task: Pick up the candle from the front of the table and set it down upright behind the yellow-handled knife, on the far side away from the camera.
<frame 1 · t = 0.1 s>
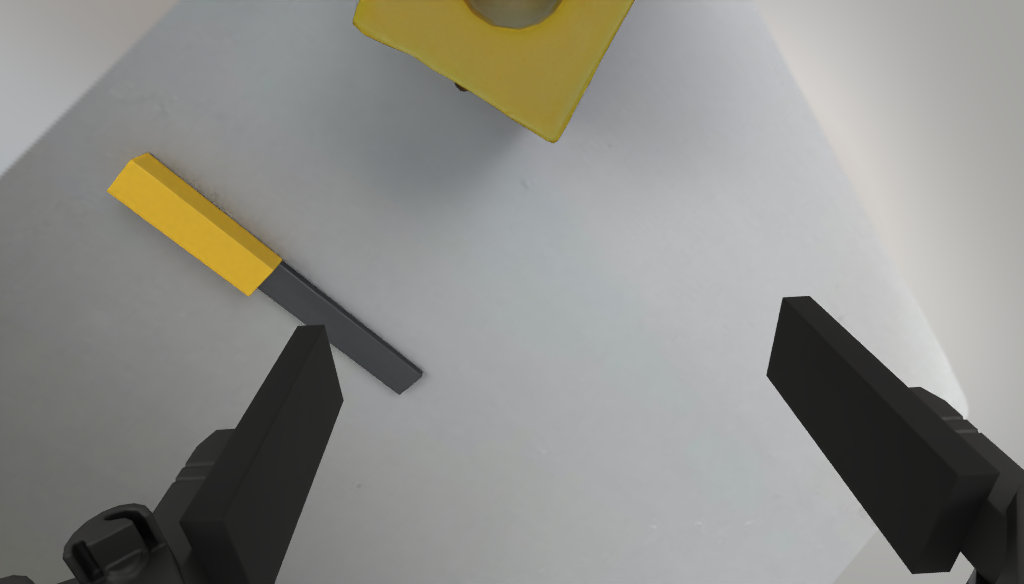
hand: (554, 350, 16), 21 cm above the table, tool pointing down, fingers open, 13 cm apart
knife: (294, 290, 38), on the table
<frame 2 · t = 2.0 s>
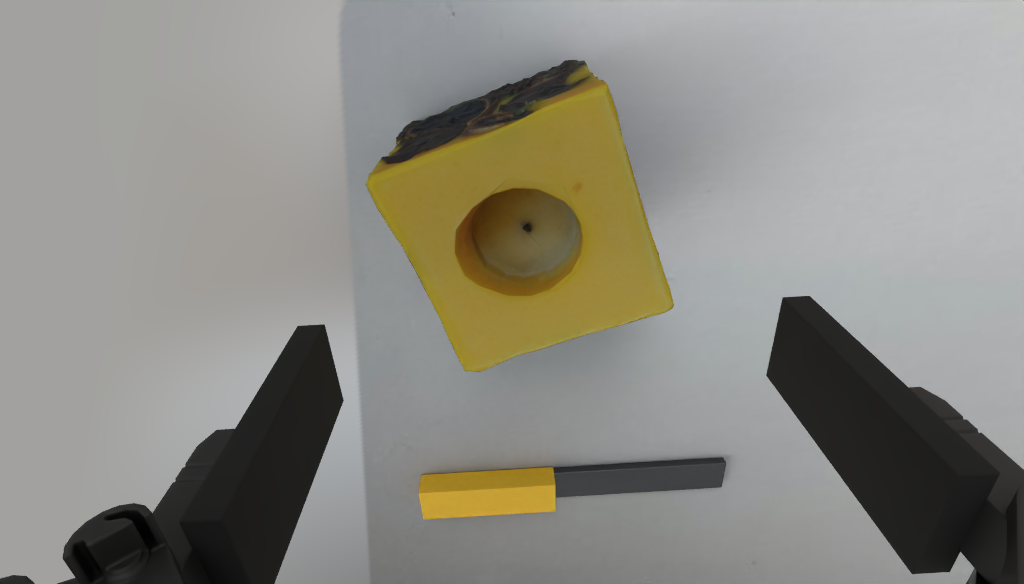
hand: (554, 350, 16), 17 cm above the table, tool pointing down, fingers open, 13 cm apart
candle: (521, 177, 31), on the table
knife: (579, 478, 42), on the table
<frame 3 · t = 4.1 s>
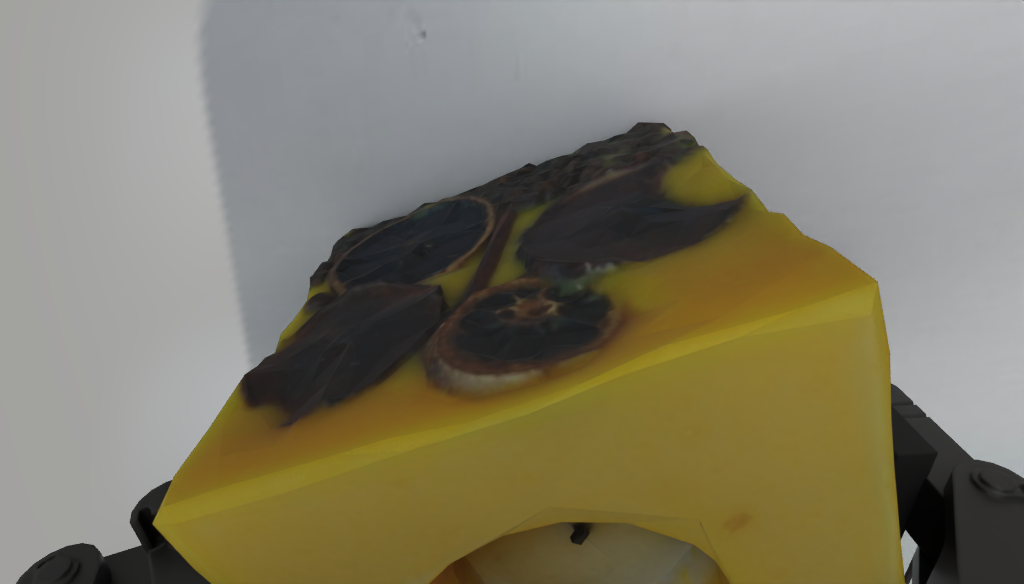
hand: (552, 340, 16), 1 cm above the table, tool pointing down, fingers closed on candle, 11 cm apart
candle: (548, 315, 18), on the table, touching gripper
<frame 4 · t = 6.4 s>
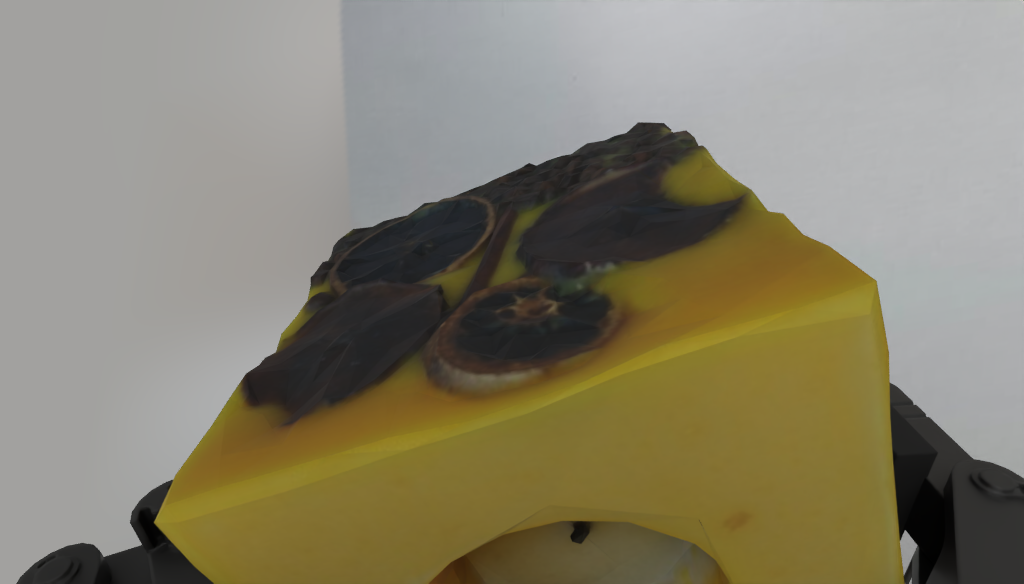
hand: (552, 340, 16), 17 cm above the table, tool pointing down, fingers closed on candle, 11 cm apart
candle: (548, 315, 18), point 15 cm above the table, touching gripper
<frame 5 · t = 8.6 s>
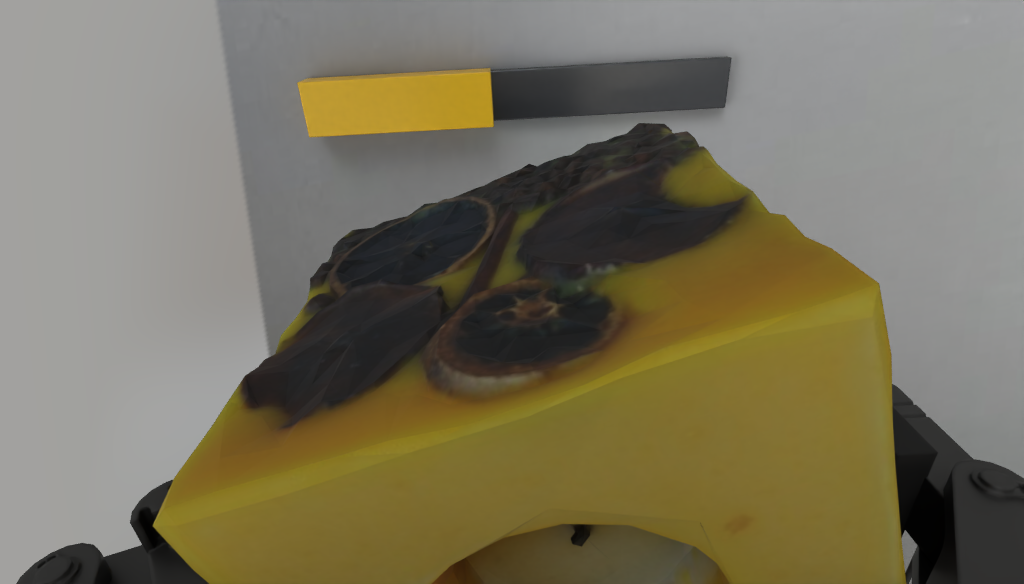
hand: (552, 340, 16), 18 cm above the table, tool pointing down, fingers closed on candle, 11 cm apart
candle: (548, 316, 18), point 17 cm above the table, touching gripper
knife: (528, 92, 30), on the table
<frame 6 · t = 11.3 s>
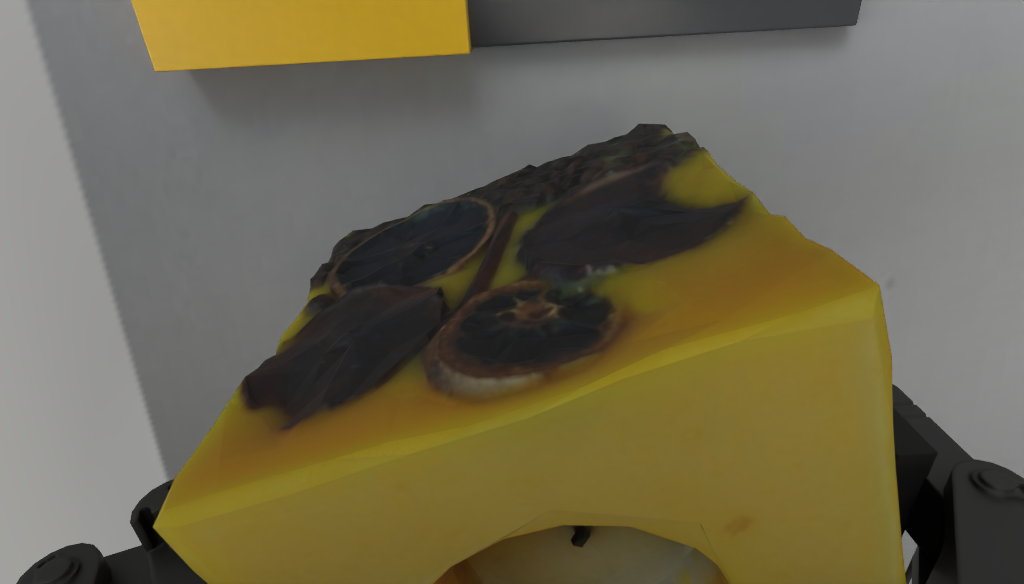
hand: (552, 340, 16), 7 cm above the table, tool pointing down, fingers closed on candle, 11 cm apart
candle: (548, 316, 18), point 5 cm above the table, touching gripper
knife: (528, 0, 18), on the table
when the fingers open (1 cm above the table, at t = 13.4 s): candle stays where it is, on the table.
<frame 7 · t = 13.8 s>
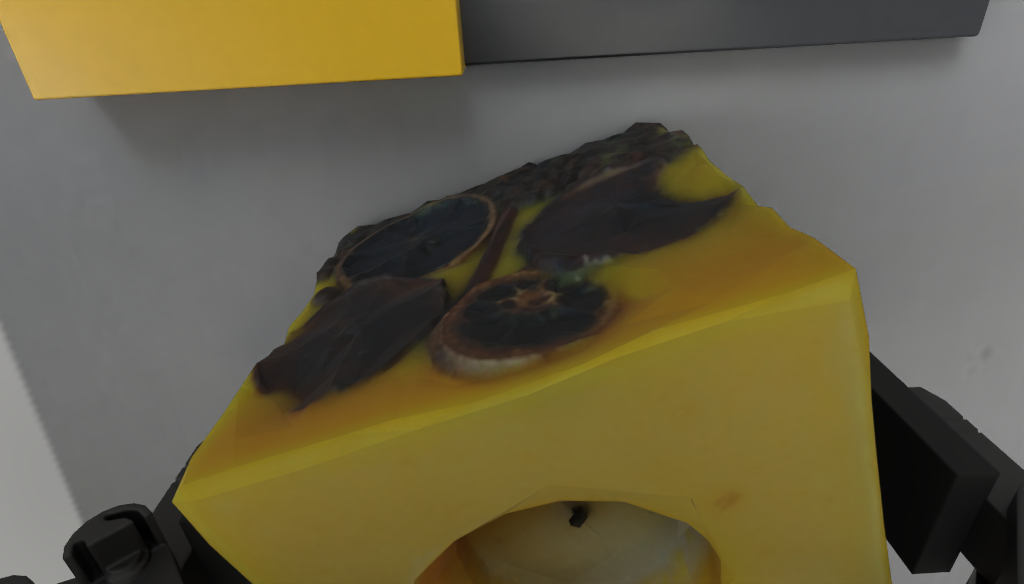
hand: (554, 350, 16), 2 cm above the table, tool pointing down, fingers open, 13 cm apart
candle: (548, 311, 18), on the table
knife: (541, 2, 14), on the table
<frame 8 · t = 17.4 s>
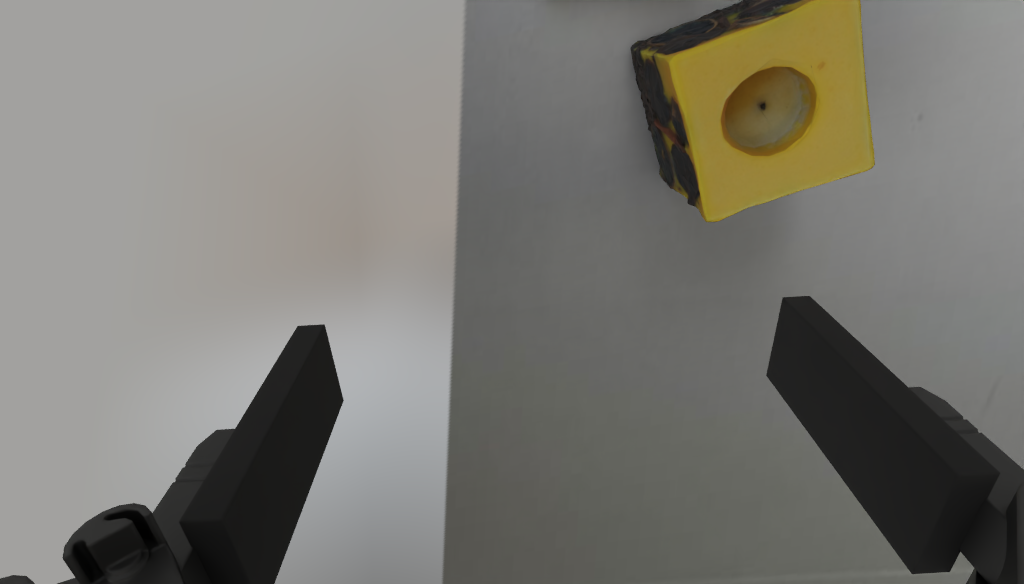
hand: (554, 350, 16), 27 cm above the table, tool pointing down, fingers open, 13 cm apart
candle: (712, 90, 38), on the table
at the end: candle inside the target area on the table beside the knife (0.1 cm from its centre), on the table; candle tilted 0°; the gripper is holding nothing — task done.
